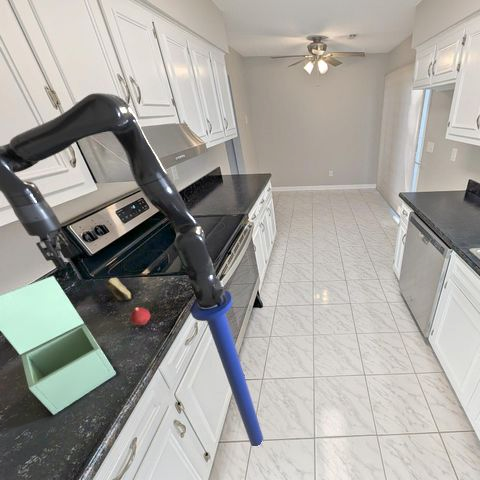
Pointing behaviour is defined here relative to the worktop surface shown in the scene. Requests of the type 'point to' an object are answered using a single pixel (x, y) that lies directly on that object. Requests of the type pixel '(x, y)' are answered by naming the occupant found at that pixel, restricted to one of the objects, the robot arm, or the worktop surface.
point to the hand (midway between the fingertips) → (66, 262)
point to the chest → (66, 368)
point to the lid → (36, 314)
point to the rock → (118, 289)
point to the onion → (140, 316)
